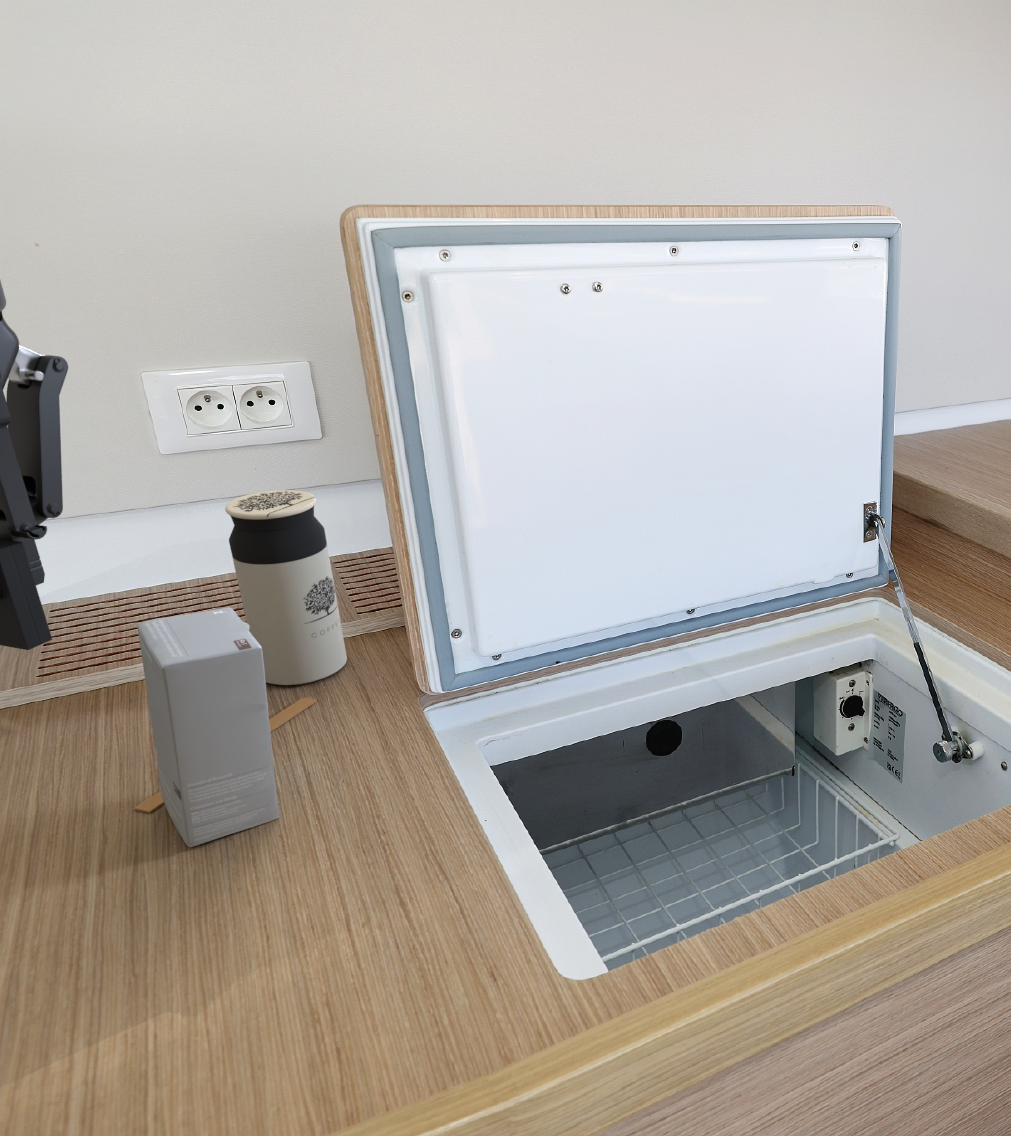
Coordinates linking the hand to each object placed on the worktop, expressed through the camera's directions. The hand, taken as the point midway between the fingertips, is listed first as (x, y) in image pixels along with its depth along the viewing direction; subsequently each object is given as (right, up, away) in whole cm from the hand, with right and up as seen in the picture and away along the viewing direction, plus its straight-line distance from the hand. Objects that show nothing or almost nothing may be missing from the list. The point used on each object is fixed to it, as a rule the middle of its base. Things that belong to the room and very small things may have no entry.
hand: (22, 641), depth 58 cm
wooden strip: (-3, -12, +25) cm, 27 cm away
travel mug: (-5, -6, +38) cm, 39 cm away
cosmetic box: (+1, -15, +17) cm, 23 cm away
